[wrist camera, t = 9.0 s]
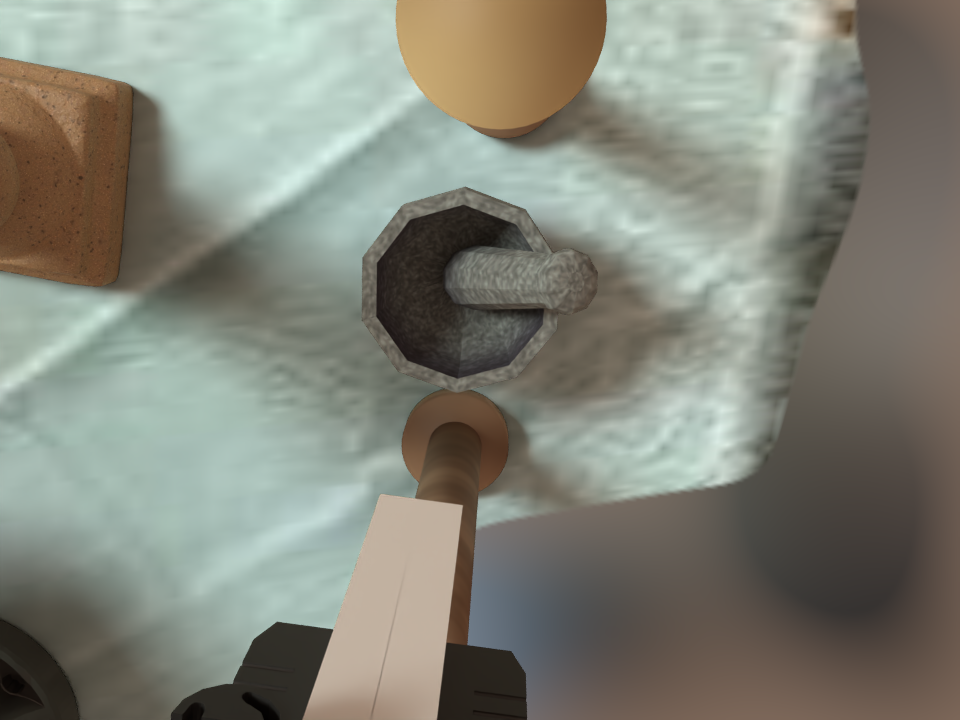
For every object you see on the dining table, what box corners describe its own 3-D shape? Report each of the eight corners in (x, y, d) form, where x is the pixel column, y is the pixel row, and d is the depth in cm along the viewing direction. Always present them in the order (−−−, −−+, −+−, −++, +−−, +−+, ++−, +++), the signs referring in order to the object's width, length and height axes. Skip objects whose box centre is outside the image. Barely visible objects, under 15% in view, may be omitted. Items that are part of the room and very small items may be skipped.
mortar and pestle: (406, 372, 51) (375, 446, 40) (356, 211, 49) (308, 240, 37) (599, 321, 50) (626, 382, 38) (557, 154, 48) (572, 166, 36)
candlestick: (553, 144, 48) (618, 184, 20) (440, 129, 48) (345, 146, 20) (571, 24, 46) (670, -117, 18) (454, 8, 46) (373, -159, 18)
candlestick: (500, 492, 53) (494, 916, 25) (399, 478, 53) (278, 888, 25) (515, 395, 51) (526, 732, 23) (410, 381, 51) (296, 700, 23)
